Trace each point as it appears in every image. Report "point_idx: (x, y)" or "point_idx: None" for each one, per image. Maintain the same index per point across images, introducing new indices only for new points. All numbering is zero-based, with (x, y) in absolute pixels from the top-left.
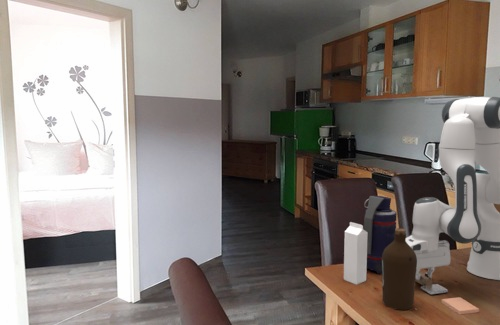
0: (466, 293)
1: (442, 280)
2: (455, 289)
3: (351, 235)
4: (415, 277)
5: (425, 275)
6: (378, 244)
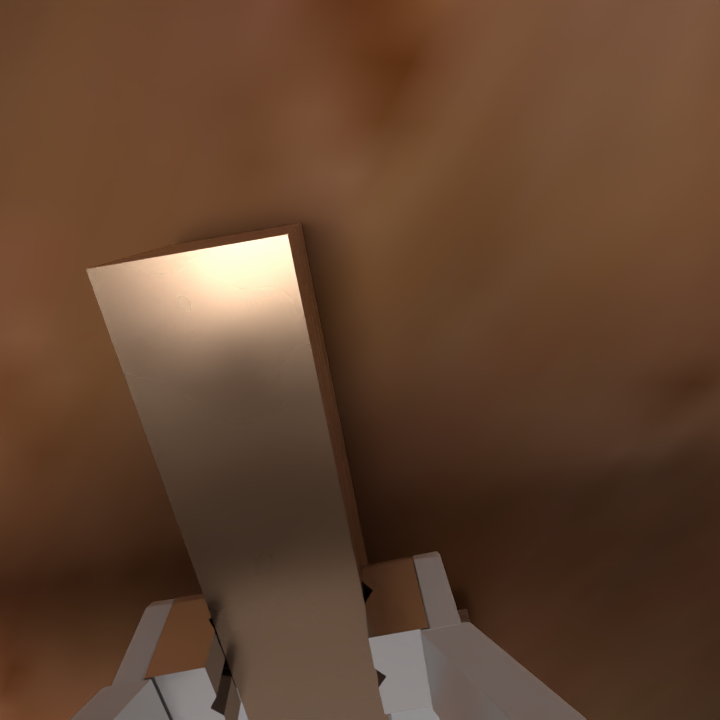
0: (674, 715)
1: (701, 398)
2: (639, 640)
3: None
4: (144, 612)
5: (349, 644)
6: None
